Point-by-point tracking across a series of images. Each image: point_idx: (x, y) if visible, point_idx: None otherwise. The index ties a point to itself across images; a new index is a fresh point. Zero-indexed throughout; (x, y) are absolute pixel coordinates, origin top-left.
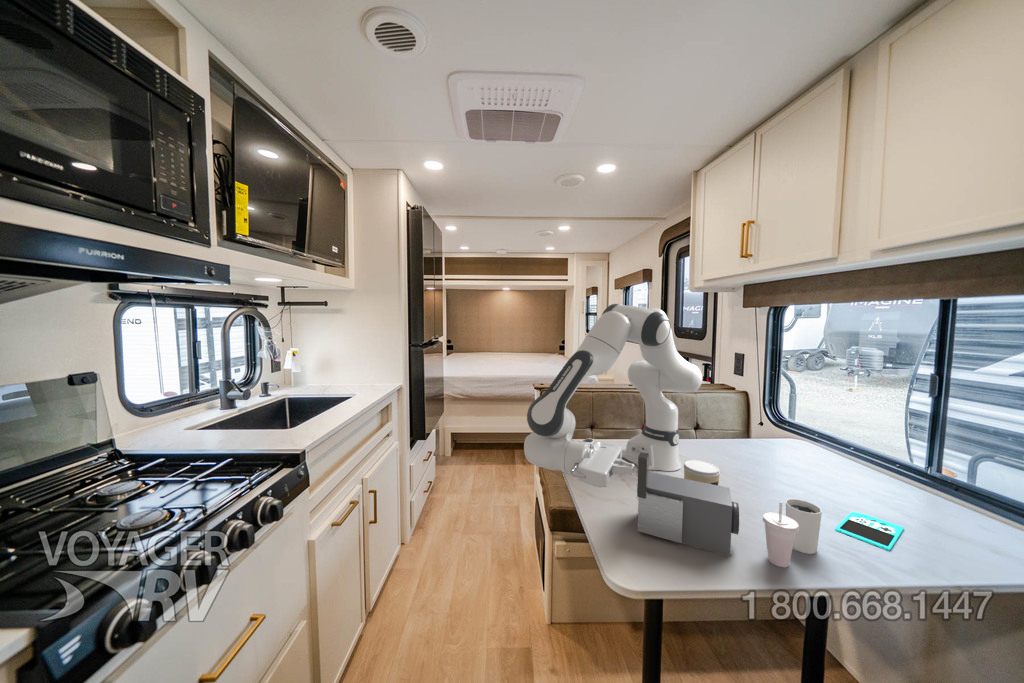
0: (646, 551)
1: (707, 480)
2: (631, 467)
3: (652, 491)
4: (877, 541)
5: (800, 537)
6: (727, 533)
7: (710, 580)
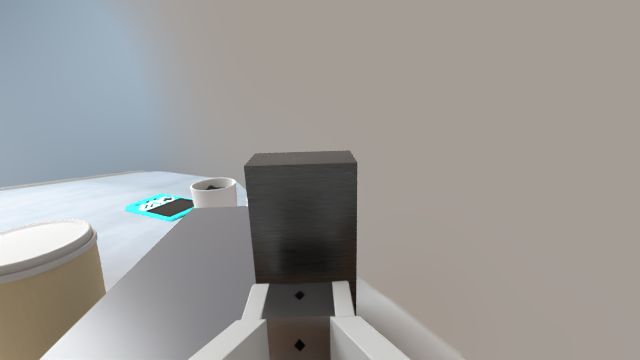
0: None
1: (95, 252)
2: (336, 283)
3: None
4: None
5: None
6: None
7: (396, 326)
